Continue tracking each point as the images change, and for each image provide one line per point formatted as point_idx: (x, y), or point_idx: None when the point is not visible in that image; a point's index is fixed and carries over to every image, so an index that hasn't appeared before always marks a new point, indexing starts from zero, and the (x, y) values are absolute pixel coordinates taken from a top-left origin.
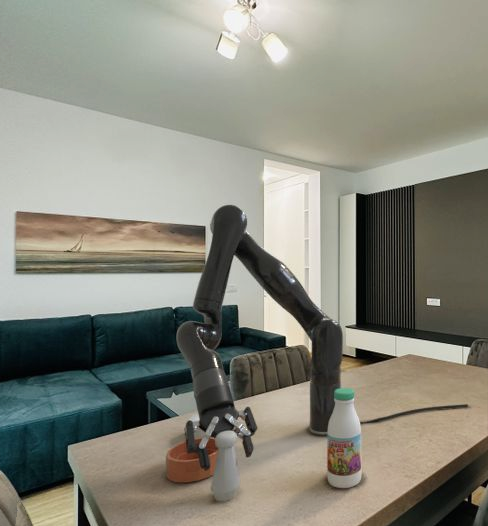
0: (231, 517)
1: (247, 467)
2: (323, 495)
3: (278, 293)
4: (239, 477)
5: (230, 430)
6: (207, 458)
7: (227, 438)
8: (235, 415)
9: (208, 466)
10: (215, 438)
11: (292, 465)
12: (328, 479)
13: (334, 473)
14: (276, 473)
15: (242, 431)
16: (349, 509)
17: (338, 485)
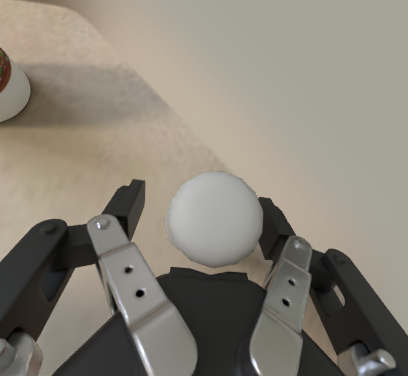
0: (212, 157)
1: (97, 305)
2: (67, 90)
3: None
4: (169, 208)
5: (172, 269)
6: (271, 208)
7: (229, 176)
8: (88, 366)
9: (263, 197)
10: (261, 230)
11: (14, 228)
12: (21, 101)
13: (9, 65)
14: (69, 223)
15: (122, 235)
16: (70, 36)
17: (26, 76)
